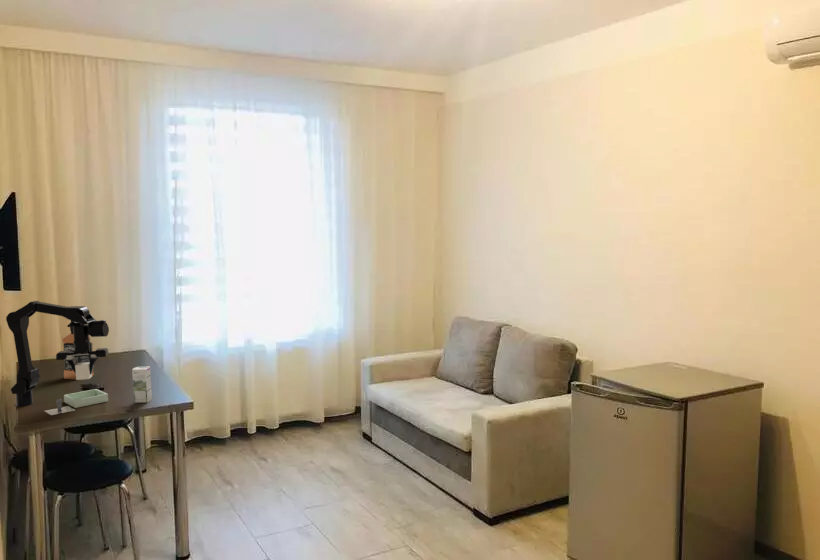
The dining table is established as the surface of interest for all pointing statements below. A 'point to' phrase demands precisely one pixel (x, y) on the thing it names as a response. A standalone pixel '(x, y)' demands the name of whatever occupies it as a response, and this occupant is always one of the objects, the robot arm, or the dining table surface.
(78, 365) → the block
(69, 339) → the whiskey bottle
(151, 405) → the dining table surface
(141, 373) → the syrup box
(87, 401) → the parts bin
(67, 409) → the mount plate
